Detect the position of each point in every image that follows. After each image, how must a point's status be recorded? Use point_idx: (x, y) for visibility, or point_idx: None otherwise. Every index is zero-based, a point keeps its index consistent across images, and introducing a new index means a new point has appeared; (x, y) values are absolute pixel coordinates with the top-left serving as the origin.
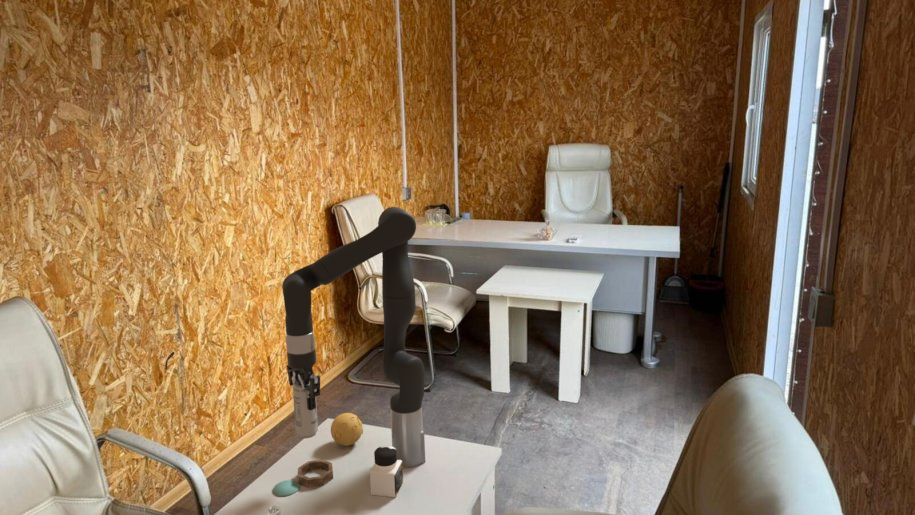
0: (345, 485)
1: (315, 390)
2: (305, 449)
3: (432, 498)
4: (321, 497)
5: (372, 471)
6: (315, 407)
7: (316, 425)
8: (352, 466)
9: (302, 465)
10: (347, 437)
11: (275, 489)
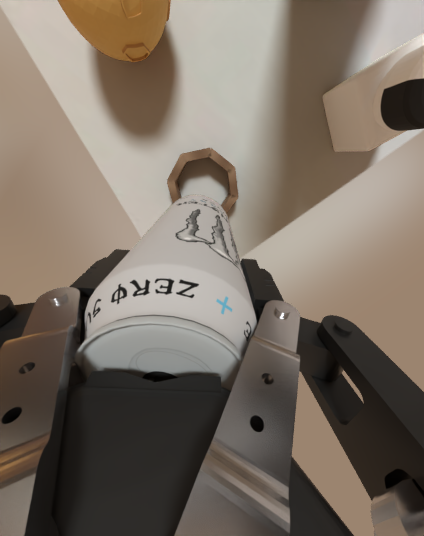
0: (269, 164)
1: (296, 333)
2: (91, 131)
3: None
4: (258, 216)
5: (375, 146)
6: (254, 261)
7: (227, 219)
8: (231, 100)
9: (172, 197)
10: (161, 28)
11: None
